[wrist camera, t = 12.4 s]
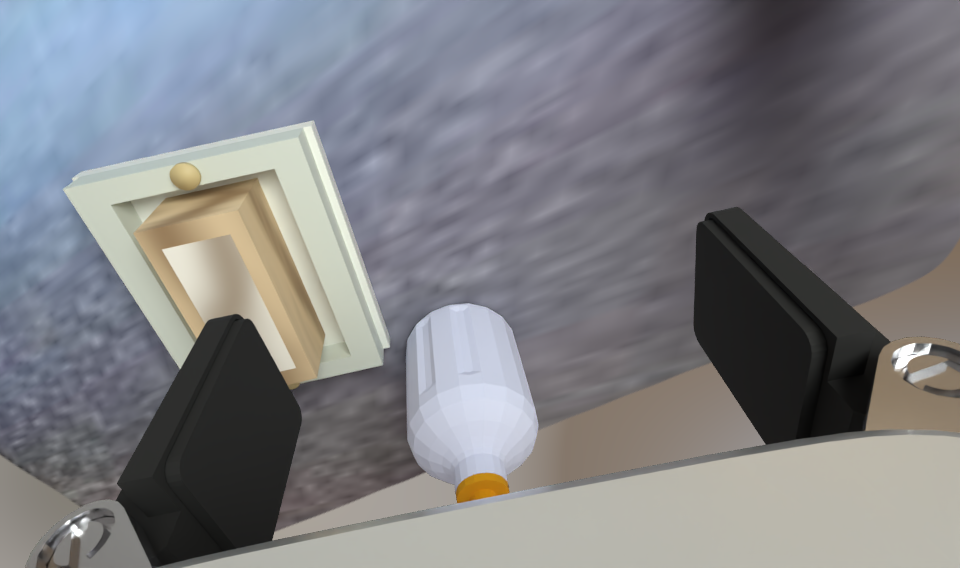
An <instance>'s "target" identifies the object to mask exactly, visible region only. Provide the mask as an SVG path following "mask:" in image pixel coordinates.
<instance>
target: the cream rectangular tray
mask: <svg viewBox="0 0 960 568" xmlns="http://www.w3.org/2000/svg"><path fill="white" fill-rule="evenodd" d="M254 178H258V180H259V183H260V185H261V187H262V190H263V192H264V194H265V196H266V199H267V201H268V203H269V206H270V208H271V210H272V213H273V215H274V217H275V220H276V222H277V224H278V226H279V229H280V231H281V233H282V236H283V238H284V240H285V243H286V245H287V247H288V250H289V252H290V254H291V256H292V259H293V261H294V263H295V266H296V268H297V270H298V273H299V275H300V277H301V279H302V282H303V284H304V286H305V289H306V291H307V293H308V296H309V298H310V300H311V303H312V305H313V307H314V309H315V312H316V314H317V316H318V319H319V321H320V323H321V326H322V328H323V330H324V332H325V339H324V344H323V350H322V355H321V360H320V365H319V371H318V376H317V378H316V379H312V380H307V381H303V382H298V383H294V384H289V385H288V387H289V389H290V390H292V389H295V388H297V387H298V386H299V384H301V383H306V382H310V381H314V380H319V379H323V378H328V377H332V376H337V375H341V374H346V373H350V372H355V371H359V370H364V369H368V368H372V367H377V366H381V365H383V353H384V349H385V348H389V347H390V337H389V334H388V331H387V328H386V325H385V322H384V319H383V317H382V314H381V311H380V308H379V305H378V302H377V300H376V297H375V294H374V291H373V288H372V285H371V282H370V280H369V277H368V274H367V271H366V268H365V265H364V262H363V260H362V257H361V254H360V251H359V248H358V245H357V243H356V240H355V237H354V234H353V231H352V228H351V225H350V223H349V220H348V217H347V214H346V211H345V208H344V205H343V203H342V200H341V197H340V194H339V191H338V188H337V185H336V183H335V180H334V177H333V174H332V171H331V168H330V166H329V163H328V160H327V157H326V154H325V151H324V148H323V146H322V143H321V140H320V137H319V134H318V131H317V128H316V126H315V123H314V120H313V121H309V122H304V123H300V124H295V125H291V126H286V127H282V128H277V129H273V130H268V131H264V132H259V133H254V134H250V135H245V136H241V137H236V138H232V139H227V140H223V141H218V142H214V143H209V144H205V145H200V146H195V147H191V148H186V149H182V150H177V151H173V152H168V153H164V154H159V155H155V156H150V157H146V158H141V159H137V160H132V161H127V162H123V163H118V164H114V165H109V166H105V167H100V168H96V169H91V170H87V171H82V172H80V173H79V174H78V175H76V176H75V177H73V178H72V180H73V182H72V183H71V184H69V185H68V186H67V187H65V188H64V189H63V190H64V192H65V193H66V195H67V196H68V198H69V199H70V201H71V202H72V204H73V206H74V207H75V209H76V210H77V212H78V213H79V215H80V216H81V218H82V219H83V221H84V222H85V224H86V225H87V227H88V229H89V230H90V232H91V233H92V235H93V236H94V238H95V239H96V241H97V242H98V244H99V245H100V247H101V249H102V250H103V252H104V253H105V255H106V256H107V258H108V259H109V261H110V262H111V264H112V265H113V267H114V269H115V270H116V272H117V273H118V275H119V276H120V278H121V279H122V281H123V282H124V284H125V285H126V287H127V289H128V290H129V292H130V293H131V295H132V296H133V298H134V299H135V301H136V302H137V304H138V305H139V307H140V308H141V310H142V312H143V313H144V315H145V316H146V318H147V319H148V321H149V322H150V324H151V325H152V327H153V328H154V330H155V332H156V333H157V335H158V336H159V338H160V339H161V341H162V342H163V344H164V345H165V347H166V348H167V350H168V352H169V353H170V355H171V356H172V358H173V359H174V361H175V362H176V364H177V365H178V367H179V368H180V369H181V367H182V365H183V363H184V362H185V360H186V358H187V356H188V354H189V353H190V351H191V349H192V347H193V345H194V344H195V342H196V340H197V338H196V337H195V335H194V333H193V332H192V330H191V328H190V327H189V325H188V323H187V322H186V320H185V318H184V317H183V315H182V313H181V312H180V310H179V309H178V307H177V305H176V304H175V302H174V300H173V299H172V297H171V295H170V294H169V292H168V290H167V289H166V287H165V285H164V284H163V282H162V280H161V279H160V277H159V275H158V274H157V272H156V270H155V269H154V267H153V265H152V264H151V262H150V261H149V259H148V257H147V256H146V254H145V252H144V251H143V249H142V247H141V246H140V244H139V242H138V241H137V239H136V237H135V236H134V234H133V233H134V232H135V231H136V230H137V229H138V228H139V227H140V225H141V224H142V223H143V222H144V221H145V220H146V219H147V218H148V217H149V216H150V215H151V213H152V212H153V211H154V210H155V209H156V208H157V207H158V206H159V205H160V204H161V202H162V201H163V200H164V199H165V198H169V197H173V196H178V195H182V194H187V193H191V192H196V191H200V190H205V189H209V188H214V187H218V186H223V185H227V184H232V183H236V182H241V181H245V180H250V179H254Z"/></svg>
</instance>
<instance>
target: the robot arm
mask: <svg viewBox="0 0 960 568" xmlns="http://www.w3.org/2000/svg"><path fill="white" fill-rule="evenodd" d="M694 331H695V335H696V338H697V340H698V342H699V344H700V345H701V347H702V348H703V350H704V351H705V353H706V354H707V356H708V357H709V359H710V360H711V362H712V363H713V365H714V366H715V368H716V369H717V371H718V373H719V374H720V376H721V377H722V379H723V380H724V382H725V383H726V385H727V386H728V388H729V389H730V391H731V392H732V394H733V395H734V397H735V398H736V400H737V401H738V403H739V404H740V406H741V407H742V409H743V411H744V412H745V413H746V415H747V417H748V418H749V420H750V421H751V423H752V424H753V426H754V427H755V429H756V430H757V432H758V433H759V435H760V436H761V438H762V439H763V441H764V442H765V444H766V445H763V446H757V447H752V448H745V449H740V450H734V451H728V452H722V453H717V454H711V455H706V456H701V457H695V458H690V459H685V460H679V461H674V462H669V463H664V464H659V465H653V466H648V467H643V468H638V469H632V470H627V471H622V472H617V473H611V474H606V475H601V476H596V477H591V478H586V479H580V480H575V481H570V482H564V483H560V484H554V485H549V486H544V487H539V488H534V489H529V490H524V491H518V492H513V493H508V494H503V495H498V496H493V497H488V498H483V499H478V500H473V501H468V502H463V503H457V504H453V505H447V506H442V507H437V508H432V509H427V510H422V511H417V512H412V513H407V514H402V515H397V516H392V517H387V518H382V519H377V520H372V521H367V522H363V523H358V524H353V525H348V526H343V527H338V528H333V529H328V530H323V531H318V532H313V533H308V534H303V535H299V536H293V537H288V538H283V539H278V540H274V541H272V538H273V535H274V531H275V527H276V523H277V519H278V515H279V511H280V507H281V503H282V499H283V495H284V491H285V487H286V483H287V479H288V475H289V471H290V467H291V463H292V459H293V455H294V451H295V447H296V443H297V439H298V434H299V430H300V426H301V421H302V416H301V411H300V407H299V405H298V403H297V402H296V400H295V398H294V396H293V394H292V392H291V391H290V389H289V387H288V385H287V383H286V381H285V380H284V378H283V376H282V374H281V372H280V371H279V369H278V367H277V365H276V363H275V361H274V360H273V358H272V356H271V354H270V352H269V350H268V349H267V347H266V345H265V343H264V341H263V340H262V338H261V336H260V334H259V332H258V330H257V329H256V327H255V325H254V323H253V322H252V321H251V320H250V319H244V318H243V317H242V316H241V315H239V314H233V315H228V316H223V317H219V318H214V319H210V320H208V321H207V322H206V324H205V326H204V327H203V329H202V331H201V333H200V335H199V336H198V338H197V340H196V342H195V344H194V345H193V347H192V349H191V351H190V353H189V354H188V356H187V358H186V360H185V362H184V363H183V365H182V367H181V369H180V371H179V372H178V374H177V376H176V378H175V380H174V381H173V383H172V385H171V387H170V389H169V391H168V392H167V394H166V396H165V398H164V400H163V401H162V403H161V405H160V407H159V409H158V410H157V412H156V414H155V416H154V418H153V419H152V421H151V423H150V425H149V427H148V428H147V430H146V432H145V434H144V436H143V437H142V439H141V441H140V443H139V445H138V446H137V448H136V450H135V452H134V454H133V455H132V457H131V459H130V461H129V463H128V465H127V466H126V468H125V470H124V472H123V474H122V475H121V477H120V479H119V481H118V483H117V484H118V486H119V487H120V488H121V489H122V490H121V492H120V494H119V496H118V498H117V500H116V501H114V500H109V499H108V500H100V501H95V502H92V503H90V504H87V505H84V506H82V507H80V508H78V509H77V510H75V511H73V512H71V513H70V514H68V515H67V516H65V517H64V518H63V519H62V520H60V521H59V522H58V523H56V524H55V525H54V526H53V527H52V528H51V529H50V530H49V531H48V532H47V533H46V534H45V535H44V536H43V537H42V538H41V539H40V540H39V542H38V543H37V545H36V546H35V547H34V549H33V550H32V552H31V553H30V556H29V559H28V561H27V563H26V565H25V568H960V344H958V343H955V342H951V341H947V340H944V339H938V338H930V337H906V338H902V339H899V340H895V341H892V342H890V341H889V340H888V339H887V338H885V337H884V336H883V335H882V334H881V333H880V332H879V331H878V330H877V329H875V328H874V327H873V326H872V325H871V324H870V323H869V322H868V321H866V320H865V319H864V318H863V317H862V316H861V315H860V314H859V313H857V312H856V311H855V310H854V309H853V308H852V307H851V306H850V305H849V304H847V303H846V302H845V301H844V300H843V299H842V298H841V297H840V296H839V295H837V294H836V293H835V292H834V291H833V290H832V289H831V288H830V287H828V286H827V285H826V284H825V283H824V282H823V281H822V280H821V279H819V278H818V277H817V276H816V275H815V274H814V273H813V272H812V271H810V270H809V269H808V268H807V267H806V266H805V265H803V264H802V263H801V262H800V261H799V260H798V259H796V258H795V257H794V256H793V255H792V254H791V253H790V252H789V251H787V250H786V249H785V248H784V247H783V246H782V245H781V244H780V243H778V242H777V241H776V240H775V239H774V238H773V237H772V236H771V235H770V234H768V233H767V232H766V231H765V230H764V229H763V228H762V227H761V226H759V225H758V224H757V223H756V222H755V221H754V220H753V219H752V218H750V217H749V216H748V215H747V214H746V213H745V212H744V211H743V210H742V209H740V208H738V207H734V208H729V209H725V210H720V211H715V212H711V213H708V214H707V215H706V217H705V221H702V222H699V223H698V225H697V233H696V265H695V297H694Z"/></svg>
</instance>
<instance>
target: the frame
mask: <svg viewBox="0 0 960 568" xmlns="http://www.w3.org/2000/svg"><path fill="white" fill-rule="evenodd" d="M133 234H134V236H135V237H136V239H137V241H138V242H139V244H140V246H141V247H142V249H143V251H144V252H145V254H146V256H147V257H148V259H149V261H150V262H151V264H152V265H153V267H154V269H155V270H156V272H157V274H158V275H159V277H160V279H161V280H162V282H163V284H164V285H165V287H166V289H167V290H168V292H169V294H170V295H171V297H172V299H173V300H174V302H175V304H176V305H177V307H178V309H179V310H180V312H181V313H182V315H183V317H184V318H185V320H186V322H187V323H188V325H189V327H190V328H191V330H192V332H193V333H194V335H195V337H196V338H198V336H199V335H200V333H201V331H202V329H203V327H204V326H205V324H206V322H207V321H208V320H210V319H214V318H219V317H223V316H228V315H233V314H239V315H241V316H242V317H243V318H244V319H250V320H251V321H252V322H253V323H254V325H255V327H256V329H257V330H258V332H259V334H260V336H261V338H262V340H263V341H264V343H265V345H266V347H267V349H268V350H269V352H270V354H271V356H272V358H273V360H274V361H275V363H276V365H277V367H278V369H279V371H280V372H281V374H282V376H283V378H284V380H285V381H286V383H287V385H289V384H294V383H298V382H303V381H307V380H312V379H316V378H317V376H318V371H319V365H320V360H321V355H322V350H323V344H324V339H325V332H324V330H323V328H322V326H321V323H320V321H319V319H318V316H317V314H316V312H315V309H314V307H313V305H312V303H311V300H310V298H309V296H308V293H307V291H306V289H305V286H304V284H303V282H302V279H301V277H300V275H299V273H298V270H297V268H296V266H295V263H294V261H293V259H292V256H291V254H290V252H289V250H288V247H287V245H286V243H285V240H284V238H283V236H282V233H281V231H280V229H279V226H278V224H277V222H276V220H275V217H274V215H273V213H272V210H271V208H270V206H269V203H268V201H267V199H266V196H265V194H264V192H263V190H262V187H261V185H260V183H259V180H258V178H254V179H250V180H245V181H241V182H236V183H232V184H227V185H223V186H218V187H214V188H209V189H205V190H200V191H196V192H191V193H187V194H182V195H178V196H173V197H169V198H165V199H164V200H163V201H162V202H161V204H160V205H159V206H158V207H157V208H156V209H155V210H154V211H153V212H152V213H151V215H150V216H149V217H148V218H147V219H146V220H145V221H144V222H143V223H142V224H141V225H140V227H139V228H138V229H137V230H136V231H135V232H134V233H133Z"/></svg>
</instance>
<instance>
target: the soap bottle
mask: <svg viewBox="0 0 960 568" xmlns="http://www.w3.org/2000/svg"><path fill="white" fill-rule="evenodd" d="M406 393H407V441H408V443H409V446H410V448H411V451H412V453H413V456H414V458H415V459H416V461H417V463H418V465H419V466H420V467H421V468H422V469H423V470H425V471H426V472H427V473H428V474H429V475H430V476H432V477H434V478H437V479H439V480H442V481H445V482H447V483H450V484H453V485H455V493H456V498H457V503H463V502H468V501H473V500H478V499H483V498H488V497H493V496H498V495H503V494H508V493H509V485H508V481H507V475H508V474H510V473H511V472H513V471H514V470H515V469H517V468H518V467H520V466H521V465H522V464H523V462H524V461H525V460H526V459H527V458H528V456H529V455H530V454H531V453H532V450H533V447H534V444H535V440H536V436H537V431H538V421H537V416H536V411H535V407H534V404H533V400H532V397H531V393H530V390H529V386H528V383H527V380H526V376H525V373H524V369H523V366H522V362H521V359H520V355H519V352H518V349H517V345H516V342H515V338H514V335H513V331H512V329H511V328H510V326H509V325H508V324H507V322H506V321H505V320H504V318H503V317H502V316H500V315H499V314H497V313H495V312H494V311H492V310H490V309H489V308H487V307H484V306H479V305H474V304H470V303H464V304H453V305H447V306H445V307H442V308H440V309H437V310H435V311H432V312H430V313H429V314H428V315H427V316H425V317H424V318H423V319H422V320H421V321H419V322H418V323H417V324H416V325H415V327H414V329H413V331H412V332H411V334H410V336H409V338H408V339H407V349H406Z"/></svg>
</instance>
